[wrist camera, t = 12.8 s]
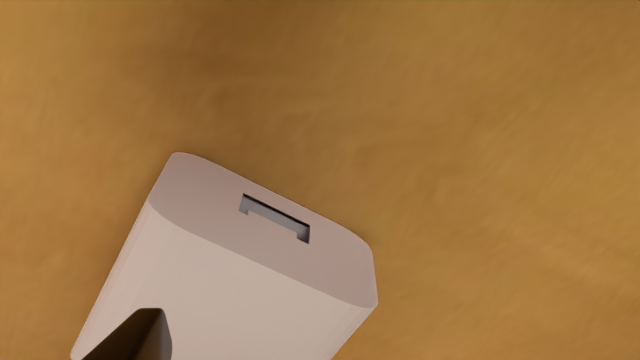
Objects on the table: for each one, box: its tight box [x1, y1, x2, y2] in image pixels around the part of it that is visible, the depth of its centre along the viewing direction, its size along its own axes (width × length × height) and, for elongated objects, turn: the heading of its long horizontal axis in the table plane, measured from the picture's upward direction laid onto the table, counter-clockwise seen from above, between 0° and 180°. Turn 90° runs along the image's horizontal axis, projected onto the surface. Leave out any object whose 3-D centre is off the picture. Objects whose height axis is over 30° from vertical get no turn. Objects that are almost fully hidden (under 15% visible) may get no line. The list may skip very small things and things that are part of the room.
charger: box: [70, 152, 378, 360], centre depth 23 cm, size 5×9×15 cm
